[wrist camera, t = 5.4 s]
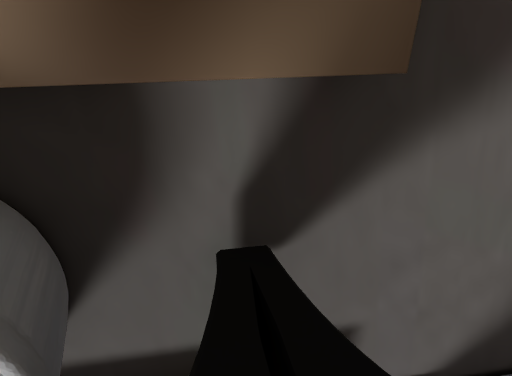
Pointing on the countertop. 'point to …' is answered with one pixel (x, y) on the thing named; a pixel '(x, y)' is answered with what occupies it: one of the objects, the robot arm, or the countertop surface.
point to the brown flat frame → (200, 40)
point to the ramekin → (30, 300)
